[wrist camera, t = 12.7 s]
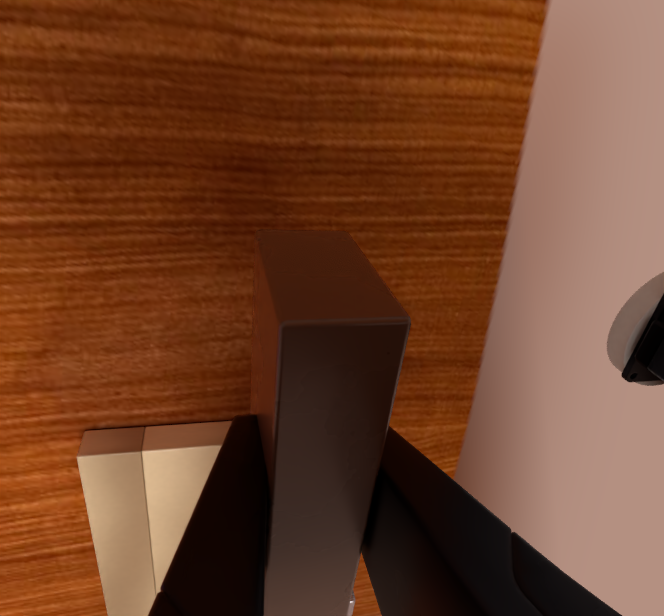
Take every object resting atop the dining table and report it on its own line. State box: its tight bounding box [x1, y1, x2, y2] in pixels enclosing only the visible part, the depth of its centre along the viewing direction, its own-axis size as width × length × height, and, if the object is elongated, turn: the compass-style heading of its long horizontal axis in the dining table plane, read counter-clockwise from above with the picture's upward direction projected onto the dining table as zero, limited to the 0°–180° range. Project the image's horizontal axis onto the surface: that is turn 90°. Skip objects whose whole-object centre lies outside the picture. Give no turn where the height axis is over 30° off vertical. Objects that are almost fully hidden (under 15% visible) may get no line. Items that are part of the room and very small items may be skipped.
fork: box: [250, 230, 411, 616], centre depth 10 cm, size 4×15×3 cm, turn 174°
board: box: [77, 421, 232, 616], centre depth 26 cm, size 12×24×2 cm, turn 173°
